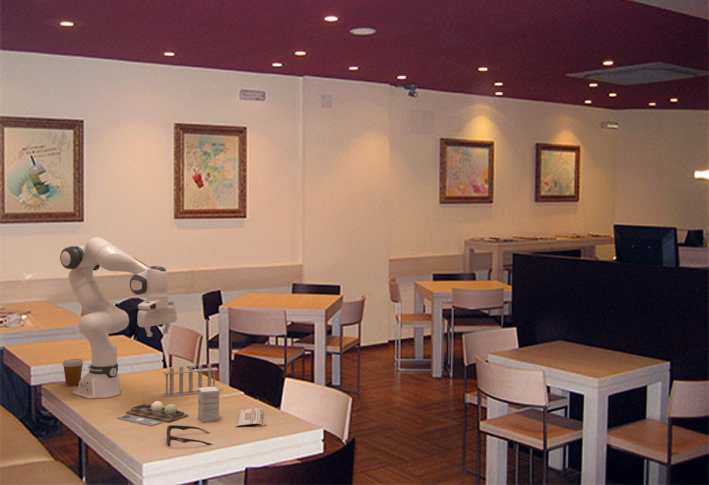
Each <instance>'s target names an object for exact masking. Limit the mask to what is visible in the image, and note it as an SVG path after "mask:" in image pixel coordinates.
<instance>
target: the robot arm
mask: <svg viewBox="0 0 709 485" xmlns="http://www.w3.org/2000/svg"><path fill="white" fill-rule="evenodd" d="M59 261H60V264H61V265H62V267H63V268H64V269H66V270H67V269H68V270H70V271H69V272H68V280H69V284H70V287H71V288H72V291H73V293H74V295H75V296H76V298H77V301H78V303H79V304H80V306H81V308H82V309H84V310H85V311H88V312H89V313H87V314H85V315H83V316H81V317H80V319H79V320H78V330H79V332H80V333H81V335H83V336H84V337H85V338H86V340H88V343H89V346H90V350H91V351H90V352H91V365H90V364H89V365H88V366H87V368H88V369H89V370H88V373H86V374H85V375H84V376H83V377H81V380H80V381H79V386H78V388H77V389H75V390H73V391H72V393H73V394H74V395H77V396H79V397H81V398H84V399H91V400H92V399H104V398H105V399H106V398H107V399H108V398H111V397H116V396H118V395H121V394H122V388H121V386H120V377H119V376H120V375H119V373H118V372H119V363H118V347H117V346H116V344H115V343H113V342H111V339H110V336H109V335H110V334H116V333H119V332H121V331H123V330H125V329H126V328H127V327H128V326H129V323H130V318H129V314H128V313H127V312H126V311H125V310H123V309H121V308H119V307H117V306H116V305H114V303H112V302H111V301H110V300H109V299H108V298H107V297H106V295H105V294H104V292H103V291H102V289H101V286H99V285H100V284H98V282H97V280H96V278H95V276H94V274H93V272H94V271H97V270H99V269H100V267H101V268H102V269H104V270H106V271H109V272H123V273H124V272H125V273H130V274H133V275H132V276H131V278H130V279H129V289H130V291H131V292H132V293H133V294H134V295H136V296H144V295H147V297H146V299H145V300H144V301H142V302H140V303H139V304H138V305H137V309H138V312H137V325H138V327H139V328H144V330H145V332H146V337H149V338H150V337H153V332H152V331H151V329H152V328H151V327H154V326H161V325H164V329H162V331H163V332H162V333H163V334H164V335H167V334H169V329H170V327H171V324H172V323H176V321H177V319H178V317H177V316H178V315H177V308H176V304H175V302H174V301H169V293H168V290H169V276H168V270H167V268H165V267H163V266H157V265H154V266H153V265H152V266H148V265H147V264H146V263H144V262H142V261H140V260H138V259H137V258H135V257H133V256H131V255H130V254H128V253H126V252H125V251H123V250H121V249H120V248H119V247H117V246H115V245H114V244H113V243H111V242H110V241H108V240H106V239H104V238H102V237H100V236H93V237H91V238H90V239H88V240H87V242H86V244H79V245H75V246H74V245H71V246H68V247H65V248H64V249H62V250H61V252H60V255H59Z"/></svg>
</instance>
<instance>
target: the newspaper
mask: <svg viewBox="0 0 709 485" xmlns="http://www.w3.org/2000/svg"><path fill="white" fill-rule="evenodd" d="M237 412H238V413H237V418H236V423H235V428H237V427H239V426H240V427H241V426H246V425H254V424H255V425H254V427H256V428H257V427H262V426H267V418H266V414H264V408H261V407H257V408H246V409H240V410H238V411H237Z"/></svg>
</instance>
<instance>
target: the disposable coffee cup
mask: <svg viewBox="0 0 709 485" xmlns="http://www.w3.org/2000/svg"><path fill="white" fill-rule="evenodd" d="M62 362H63V363H62V367H63V373H64V379H65V386H66V387H68V388H69V387H70V388H71V387H79V381H80V380H81V379H82V372H83V365H84V360H83V359H82V358H81V359H80V358H69V359H65V360H63V361H62Z"/></svg>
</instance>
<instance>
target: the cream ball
mask: <svg viewBox="0 0 709 485" xmlns="http://www.w3.org/2000/svg"><path fill="white" fill-rule="evenodd" d="M150 405H151V410H152V412H155V413H158V412H161V411H162V410H163V408H164V404H163V402H161V401H159V400H156V401H154V402H152V404H150Z"/></svg>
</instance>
